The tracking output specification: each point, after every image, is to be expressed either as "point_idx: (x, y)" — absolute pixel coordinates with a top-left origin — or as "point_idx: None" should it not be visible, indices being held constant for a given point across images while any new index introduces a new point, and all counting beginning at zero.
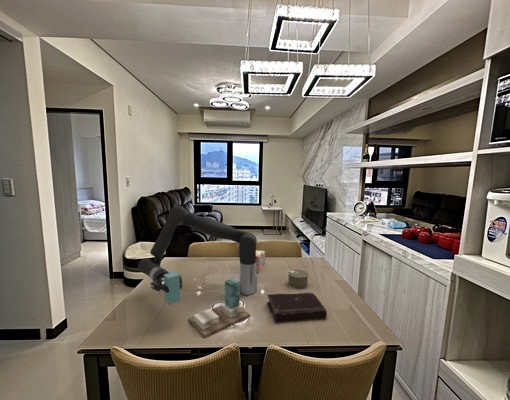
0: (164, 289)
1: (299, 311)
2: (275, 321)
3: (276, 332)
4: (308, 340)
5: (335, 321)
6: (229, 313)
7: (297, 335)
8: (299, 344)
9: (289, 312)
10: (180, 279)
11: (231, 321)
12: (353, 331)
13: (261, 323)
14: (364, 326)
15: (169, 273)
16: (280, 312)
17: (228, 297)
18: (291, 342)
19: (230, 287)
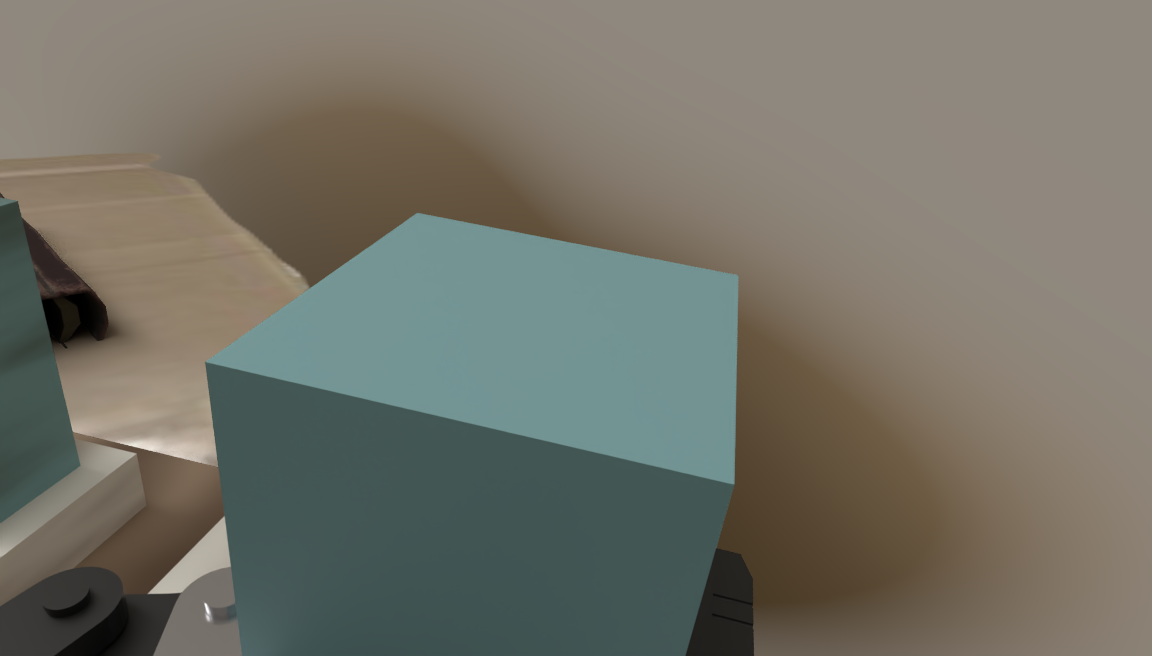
0: (747, 612)
1: (30, 233)
2: (104, 331)
3: (218, 319)
4: (238, 252)
5: (39, 213)
6: (132, 479)
7: (213, 273)
8: (281, 264)
9: (49, 256)
10: (106, 586)
11: (205, 476)
12: (117, 190)
13: (139, 377)
14: (67, 176)
15: (499, 391)
16: (60, 276)
17: (13, 393)
18: (279, 279)
19: (15, 247)
